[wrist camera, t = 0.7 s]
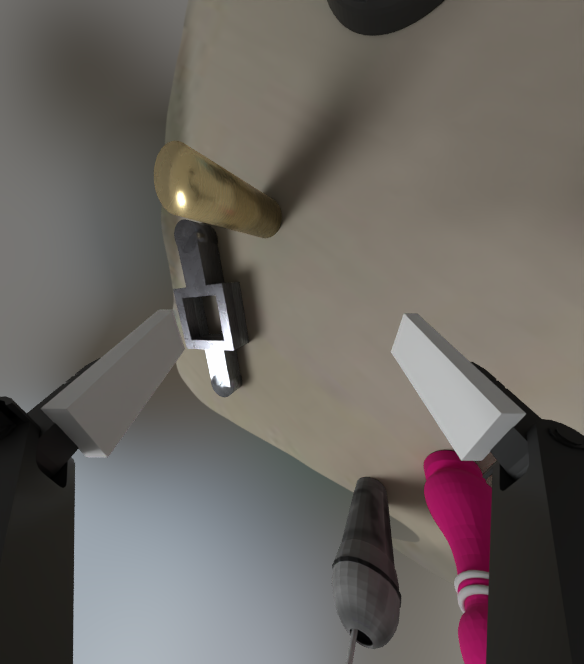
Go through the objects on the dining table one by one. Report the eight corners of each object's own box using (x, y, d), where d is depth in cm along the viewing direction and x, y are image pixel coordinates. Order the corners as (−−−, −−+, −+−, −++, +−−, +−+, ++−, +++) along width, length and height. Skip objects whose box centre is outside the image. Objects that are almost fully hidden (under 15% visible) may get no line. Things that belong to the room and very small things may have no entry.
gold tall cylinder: (247, 202, 29) (147, 153, 17) (279, 193, 27) (192, 129, 15) (252, 240, 31) (162, 221, 18) (283, 234, 29) (206, 207, 16)
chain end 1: (181, 231, 35) (158, 227, 32) (229, 218, 31) (209, 211, 28) (204, 341, 40) (186, 348, 36) (248, 342, 36) (233, 350, 32)
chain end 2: (193, 287, 37) (178, 288, 35) (239, 282, 33) (226, 283, 31) (213, 385, 42) (202, 393, 39) (256, 391, 38) (246, 400, 35)
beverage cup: (400, 512, 33) (417, 798, 15) (352, 503, 36) (320, 729, 18) (392, 472, 31) (399, 731, 14) (343, 466, 35) (299, 671, 17)
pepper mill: (407, 457, 30) (438, 727, 12) (458, 438, 27) (603, 771, 9) (443, 498, 29) (531, 843, 12) (501, 484, 26) (744, 936, 8)
